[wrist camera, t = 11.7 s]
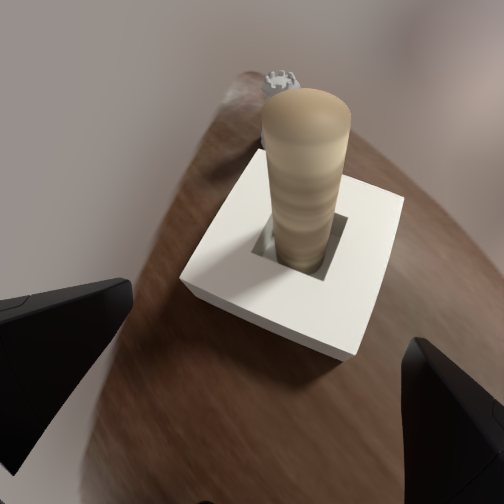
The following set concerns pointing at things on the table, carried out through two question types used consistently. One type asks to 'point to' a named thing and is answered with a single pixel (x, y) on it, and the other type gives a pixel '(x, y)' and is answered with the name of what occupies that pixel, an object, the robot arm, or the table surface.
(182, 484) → the table surface
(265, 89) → the rook chess piece
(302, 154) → the peg
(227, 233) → the block
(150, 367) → the table surface
